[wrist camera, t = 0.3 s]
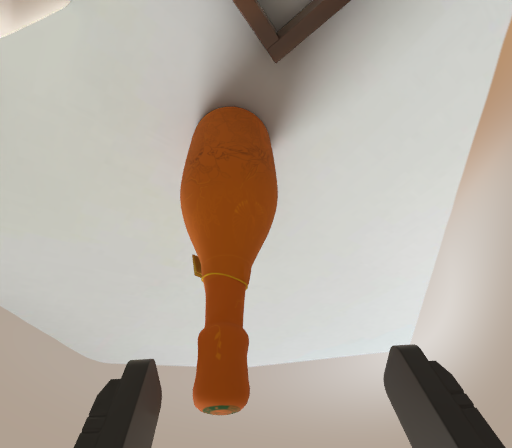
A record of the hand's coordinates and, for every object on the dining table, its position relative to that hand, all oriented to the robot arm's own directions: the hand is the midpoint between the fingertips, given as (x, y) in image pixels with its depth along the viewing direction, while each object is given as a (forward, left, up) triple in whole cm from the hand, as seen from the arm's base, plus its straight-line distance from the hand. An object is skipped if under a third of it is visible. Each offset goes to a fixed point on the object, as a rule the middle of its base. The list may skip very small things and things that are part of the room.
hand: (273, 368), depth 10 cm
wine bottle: (+5, -7, -31) cm, 32 cm away
